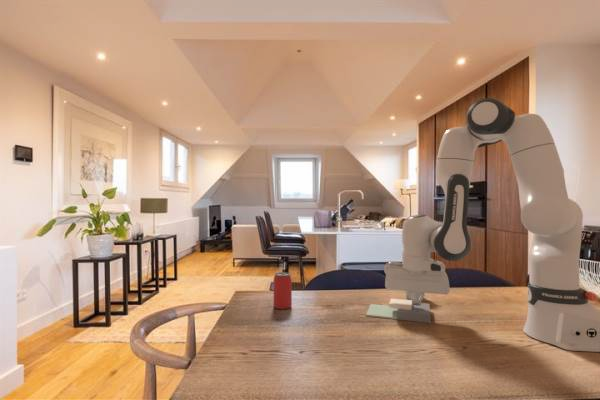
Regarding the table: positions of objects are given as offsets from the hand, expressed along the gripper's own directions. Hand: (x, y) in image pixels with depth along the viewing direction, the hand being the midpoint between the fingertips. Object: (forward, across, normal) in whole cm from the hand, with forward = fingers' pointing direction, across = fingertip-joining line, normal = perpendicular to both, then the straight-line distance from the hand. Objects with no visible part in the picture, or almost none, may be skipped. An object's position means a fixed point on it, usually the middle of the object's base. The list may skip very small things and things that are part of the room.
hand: (416, 304), depth 109 cm
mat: (+4, -11, 0) cm, 11 cm away
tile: (+1, -5, 0) cm, 5 cm away
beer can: (+4, -46, -6) cm, 46 cm away
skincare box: (+4, -1, +21) cm, 21 cm away
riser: (+3, -1, 0) cm, 3 cm away
